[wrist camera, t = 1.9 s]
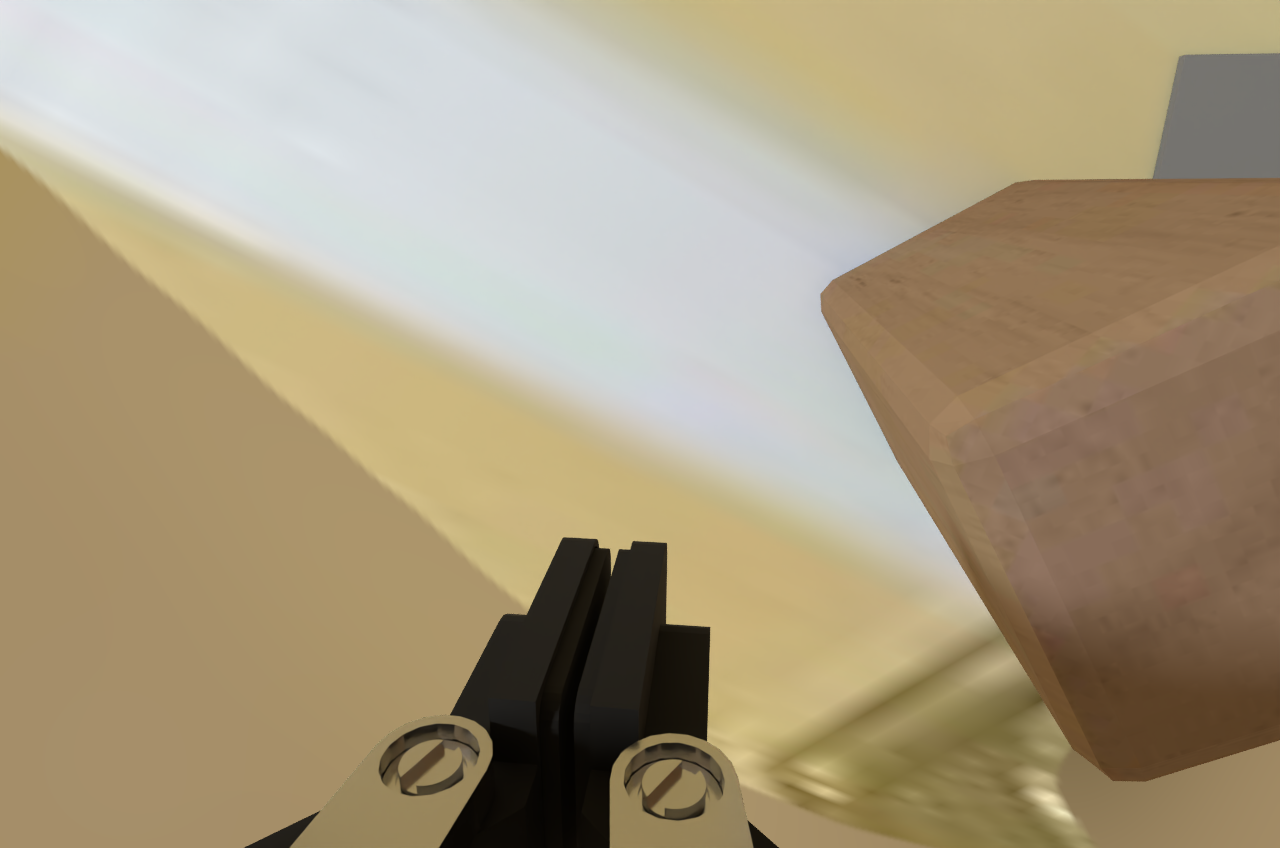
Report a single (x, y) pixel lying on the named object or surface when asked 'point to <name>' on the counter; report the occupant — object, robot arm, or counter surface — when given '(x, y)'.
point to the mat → (1222, 118)
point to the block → (1099, 444)
